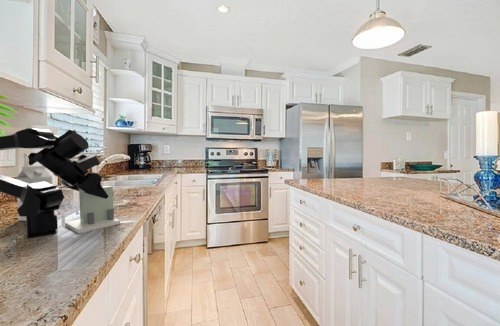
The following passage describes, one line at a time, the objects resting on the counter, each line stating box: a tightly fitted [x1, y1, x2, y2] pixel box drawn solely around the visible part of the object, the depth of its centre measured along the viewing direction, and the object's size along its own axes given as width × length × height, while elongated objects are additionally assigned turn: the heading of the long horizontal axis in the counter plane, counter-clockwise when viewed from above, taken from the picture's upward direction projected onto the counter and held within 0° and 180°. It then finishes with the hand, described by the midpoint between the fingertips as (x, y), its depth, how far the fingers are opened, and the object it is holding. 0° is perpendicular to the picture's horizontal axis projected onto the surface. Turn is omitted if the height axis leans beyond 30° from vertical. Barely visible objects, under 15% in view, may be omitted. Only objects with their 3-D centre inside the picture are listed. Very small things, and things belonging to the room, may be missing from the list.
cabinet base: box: [64, 208, 121, 234], centre depth 81 cm, size 12×12×5 cm
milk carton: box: [15, 165, 54, 222], centre depth 88 cm, size 7×7×19 cm
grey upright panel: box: [78, 185, 115, 224], centre depth 82 cm, size 9×3×11 cm, turn 143°
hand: (101, 195), depth 83 cm, fingers open, 9 cm apart
